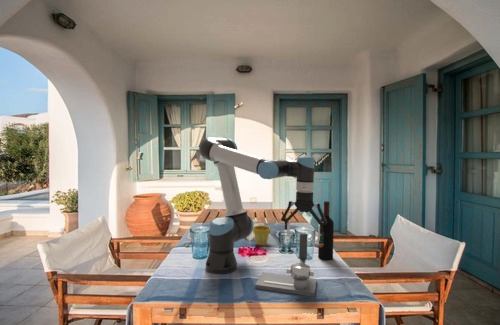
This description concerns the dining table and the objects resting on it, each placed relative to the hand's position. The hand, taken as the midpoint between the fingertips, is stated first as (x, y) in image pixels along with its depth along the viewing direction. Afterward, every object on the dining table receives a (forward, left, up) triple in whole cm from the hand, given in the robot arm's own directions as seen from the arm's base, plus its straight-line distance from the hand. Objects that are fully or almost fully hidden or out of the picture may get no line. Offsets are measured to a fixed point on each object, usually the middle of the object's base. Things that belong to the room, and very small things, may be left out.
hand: (303, 238), depth 133 cm
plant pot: (-29, +40, -18) cm, 52 cm away
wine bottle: (+9, +27, -18) cm, 34 cm away
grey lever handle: (0, -8, -12) cm, 14 cm away
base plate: (-6, -10, -18) cm, 21 cm away
